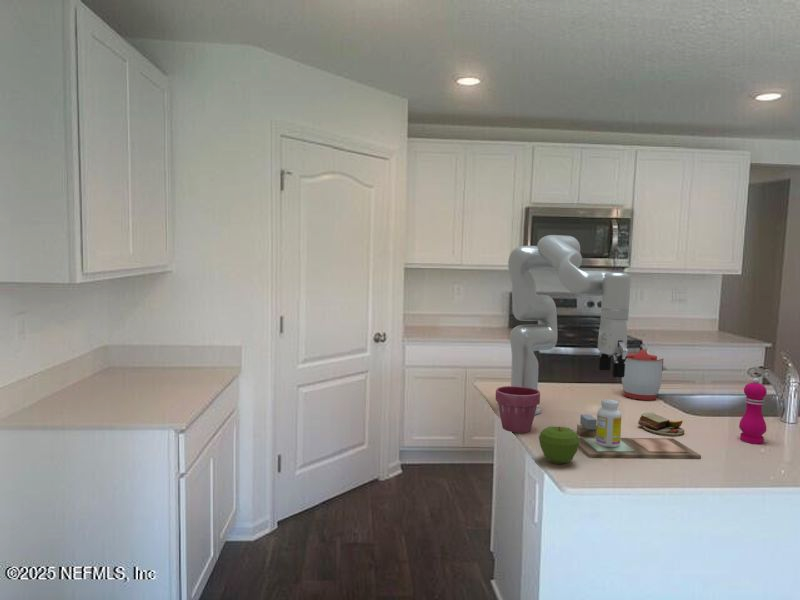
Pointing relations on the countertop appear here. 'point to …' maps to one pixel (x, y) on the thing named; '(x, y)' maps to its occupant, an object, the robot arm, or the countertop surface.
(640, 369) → the citrus juicer
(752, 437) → the pepper mill
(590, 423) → the brick grey
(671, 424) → the toy sandwich meal
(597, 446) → the tile board
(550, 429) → the apple
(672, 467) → the countertop surface
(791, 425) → the countertop surface
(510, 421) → the plant pot
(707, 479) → the countertop surface
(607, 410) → the supplement bottle
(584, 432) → the brick walnut
